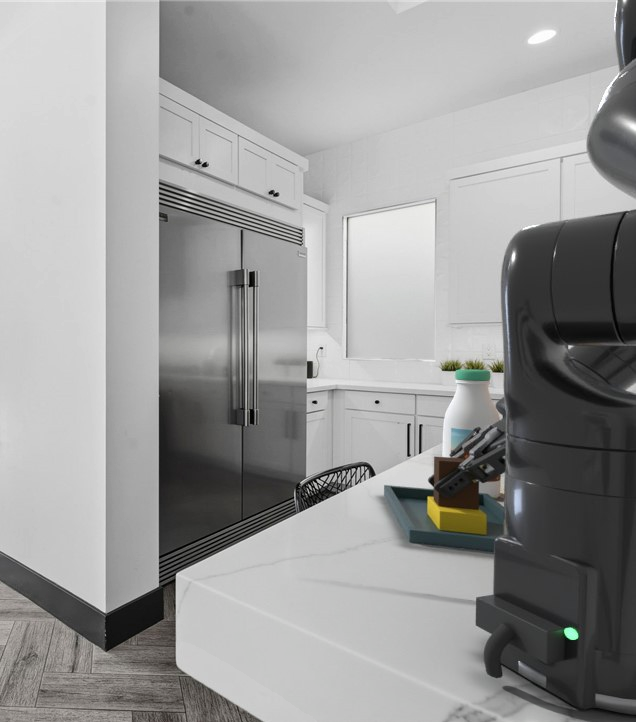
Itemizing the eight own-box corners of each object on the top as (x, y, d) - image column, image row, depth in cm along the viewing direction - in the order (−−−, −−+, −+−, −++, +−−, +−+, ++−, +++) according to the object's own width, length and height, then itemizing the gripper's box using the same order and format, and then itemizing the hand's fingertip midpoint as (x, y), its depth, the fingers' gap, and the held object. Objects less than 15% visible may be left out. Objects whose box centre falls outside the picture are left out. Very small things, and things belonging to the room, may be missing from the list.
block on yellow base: (486, 535, 66) (487, 466, 65) (439, 530, 67) (440, 463, 67) (469, 517, 72) (470, 455, 72) (427, 513, 74) (427, 453, 74)
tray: (550, 563, 59) (551, 545, 58) (409, 546, 64) (409, 529, 63) (487, 507, 79) (487, 493, 79) (383, 497, 84) (384, 484, 84)
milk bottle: (431, 490, 88) (433, 369, 87) (459, 485, 91) (462, 368, 90) (481, 502, 81) (484, 371, 80) (510, 496, 84) (513, 370, 83)
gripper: (507, 376, 73) (404, 458, 78) (552, 383, 60) (424, 481, 65) (554, 416, 71) (445, 497, 76) (611, 433, 58) (475, 529, 63)
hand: (436, 489), depth 70 cm, fingers closed on block on yellow base, 3 cm apart
